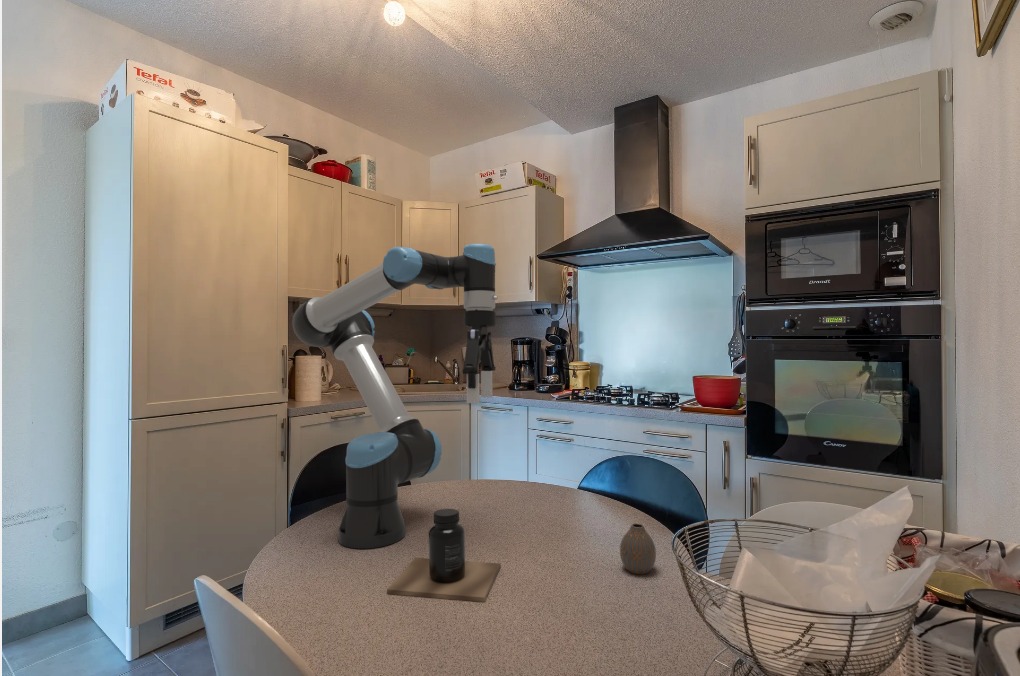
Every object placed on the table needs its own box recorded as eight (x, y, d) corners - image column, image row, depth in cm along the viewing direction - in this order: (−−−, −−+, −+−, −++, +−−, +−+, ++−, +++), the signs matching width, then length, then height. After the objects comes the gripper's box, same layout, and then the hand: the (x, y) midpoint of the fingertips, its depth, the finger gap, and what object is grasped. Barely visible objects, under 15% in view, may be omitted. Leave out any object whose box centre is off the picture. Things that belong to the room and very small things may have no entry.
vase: (657, 579, 96) (657, 532, 96) (620, 576, 97) (619, 530, 98) (654, 564, 103) (654, 520, 103) (619, 561, 104) (619, 518, 104)
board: (386, 593, 91) (386, 589, 91) (415, 561, 105) (415, 557, 105) (484, 602, 88) (484, 597, 88) (500, 567, 102) (500, 563, 102)
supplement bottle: (468, 568, 99) (467, 506, 100) (461, 584, 93) (461, 518, 93) (433, 567, 100) (433, 506, 100) (424, 583, 93) (424, 517, 94)
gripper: (482, 305, 107) (483, 406, 107) (505, 313, 132) (505, 395, 131) (448, 306, 109) (449, 405, 108) (477, 313, 133) (477, 394, 133)
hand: (480, 400), depth 120 cm, fingers open, 13 cm apart
